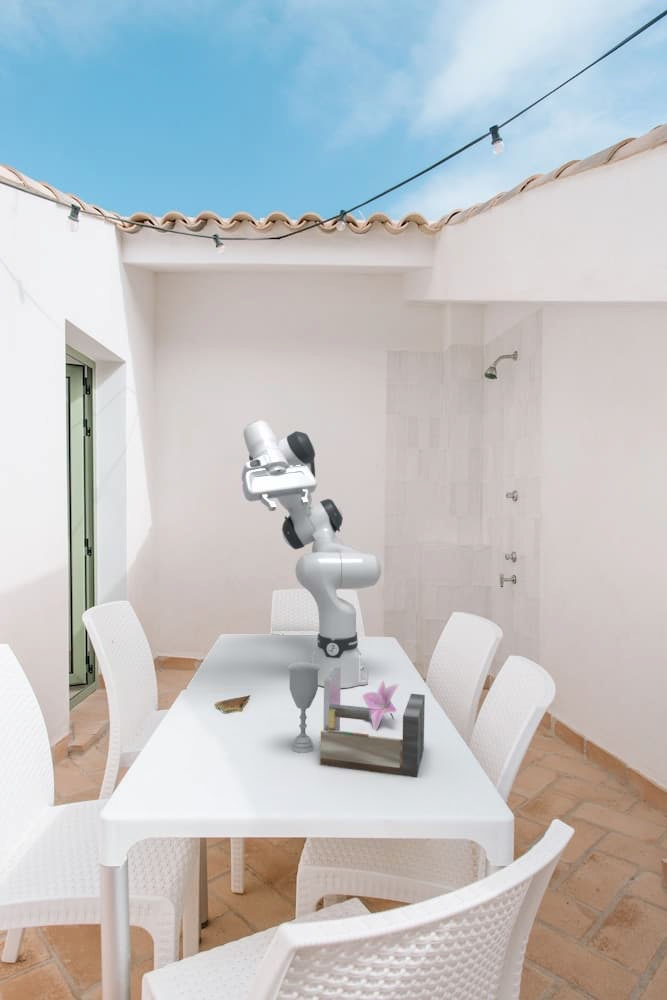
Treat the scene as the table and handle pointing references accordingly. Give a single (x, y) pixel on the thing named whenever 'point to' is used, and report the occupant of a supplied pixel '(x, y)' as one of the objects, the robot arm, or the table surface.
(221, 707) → the shard
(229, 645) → the table surface
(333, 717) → the drag pointer
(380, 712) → the lily
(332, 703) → the grey metal angled plate
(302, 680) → the chalice
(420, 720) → the wooden book stand
